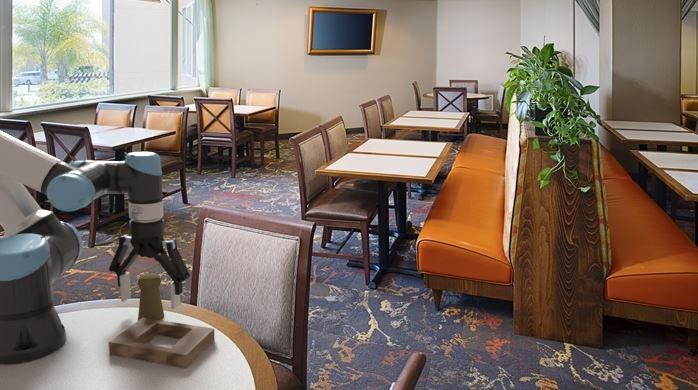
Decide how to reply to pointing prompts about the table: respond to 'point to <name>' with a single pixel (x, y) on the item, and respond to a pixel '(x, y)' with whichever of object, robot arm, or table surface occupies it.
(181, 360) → the brown picture frame
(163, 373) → the table surface
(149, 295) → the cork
